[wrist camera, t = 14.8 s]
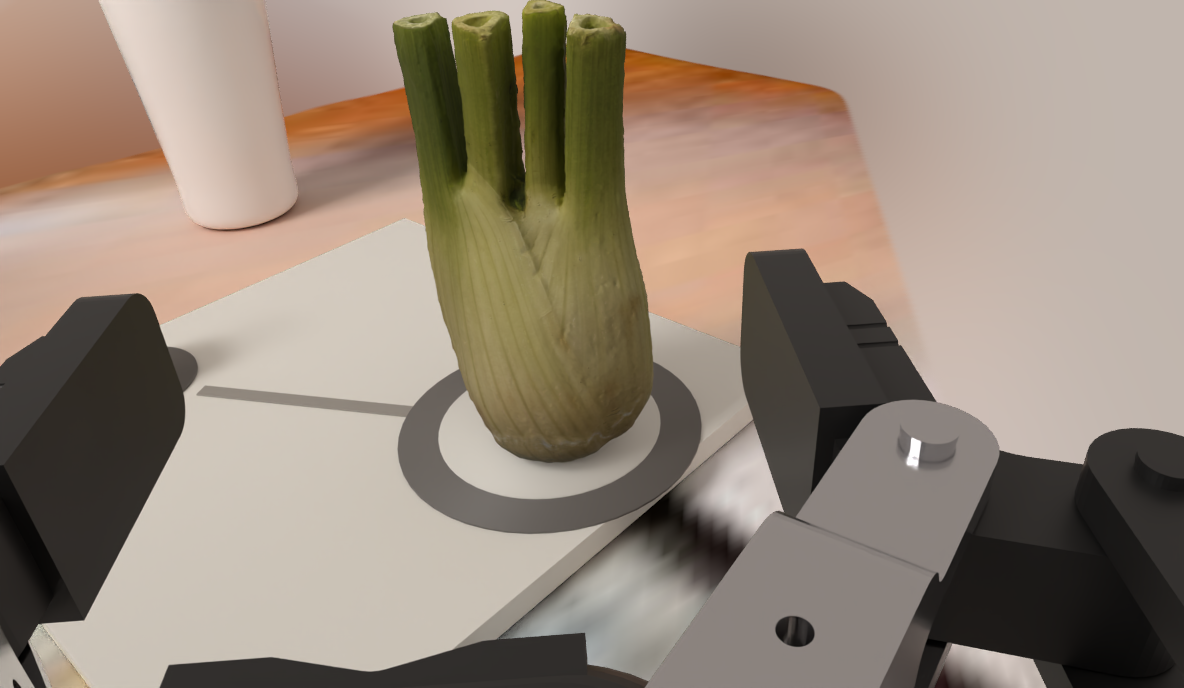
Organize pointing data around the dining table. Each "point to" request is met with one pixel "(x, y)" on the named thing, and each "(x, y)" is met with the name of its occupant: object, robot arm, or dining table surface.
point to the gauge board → (368, 481)
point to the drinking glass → (211, 103)
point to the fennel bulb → (532, 223)
